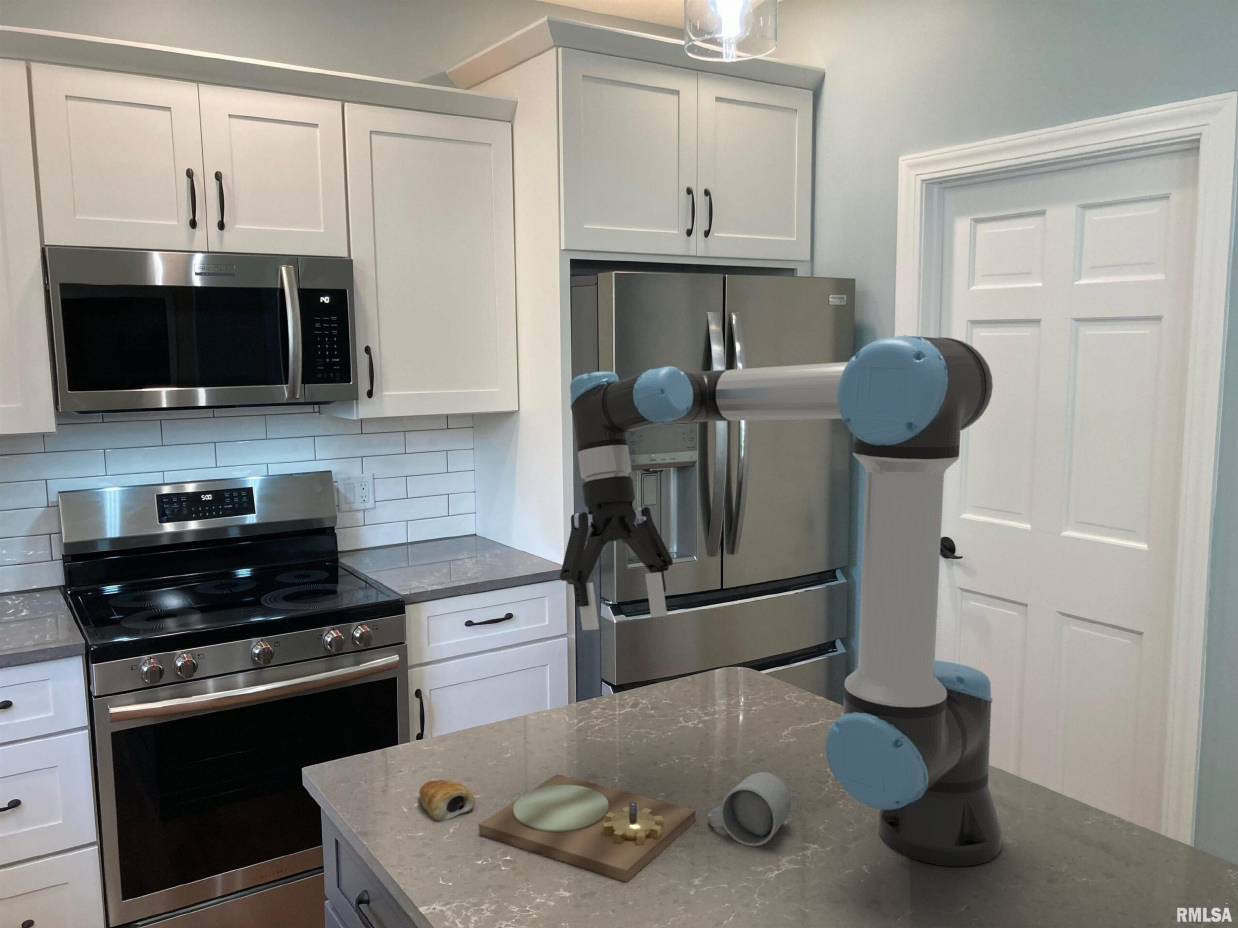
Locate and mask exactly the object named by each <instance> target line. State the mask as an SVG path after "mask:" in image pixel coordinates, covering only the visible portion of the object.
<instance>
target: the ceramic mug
mask: <svg viewBox="0 0 1238 928" xmlns="http://www.w3.org/2000/svg"><path fill="white" fill-rule="evenodd" d="M791 807H792V796H791V793H790V790H789V787H788V786H787V784H786V783H785V782H784V781H783V779H781V778H780V777H779V776H777V774H773V773H771V772H764V771H761V772H756V773H753V774H751V775H749V776H747V777H745V778H744V779H743V780H742V781H741V782H740V783H739V784H737V785H736V786H734V787H733V788H732V789H730V791H728V792H727V793H726V795H725V796H724V798H723V800H722V802H721V805H719V806H717V807H715V808H714V809H712V810H711V811H710V812H709V813H708V814H707V819H708V821H709V823H710V826H711V827H713V828H715V829H716V828H722V827H723V828H724V829H725V831H726V832H727V833H728V835H729V836H730V837H731V838H733V840H735V841H737V842H738V843H740V844H742V845H745V846H748V847H760V846H762V845H765V844H766V843H767V842H769V841H770V840H771V839H772V838H773V836H774V835H775V834H776V832H777V831H778V830H779V829H780V828H781V826H782V824H783V823H784V822H785V821H786V820H787V818H788V817H789V813H790V811H791Z"/></svg>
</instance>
